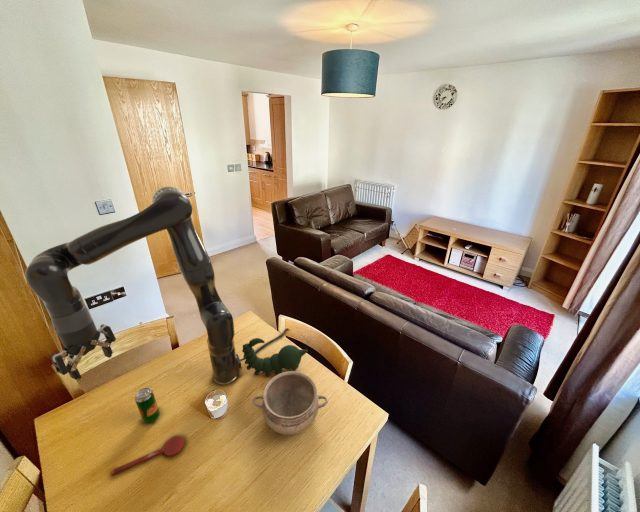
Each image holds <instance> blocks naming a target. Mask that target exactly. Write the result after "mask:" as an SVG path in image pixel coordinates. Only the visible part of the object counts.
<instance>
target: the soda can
mask: <svg viewBox="0 0 640 512" xmlns="http://www.w3.org/2000/svg"><path fill="white" fill-rule="evenodd" d="M134 401H135V405H136V407H137V409H138V412H139V415H140V418H141V419H142V422H143V423H144V424H152V423H154V422H155V421H157V420H158V418H159V417H160V415H161V411H160V408H159V405H158V403H157V399H156V396H155V394H154V391H153V389H151V388H150V387H143V388H141V389H139V390H138V391H137V392H136V393H135V395H134Z"/></svg>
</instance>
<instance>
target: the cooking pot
mask: <svg viewBox="0 0 640 512" xmlns="http://www.w3.org/2000/svg"><path fill="white" fill-rule="evenodd" d="M260 399H261V400H262V403H258V402H256V401H257V400H260ZM319 400H324V402H323V403H320V402H319ZM328 403H329V399H328V397H327V396H325V395H319V394H318V389H317V386H316V383H315V382H314V380H313V379H312V378H311V377H310V376H309V375H307V374H306V373H304V372H301V371H297V370H294V371H293V370H287V371H284V372H283V371H282V373H280V374H278V375H277V374H276V375H275V376H273V377H272V378H271V379H270V380H268V382H267V384H266V386H265V387H264V390H263V395H257V396H254V398H253V399H252V404H253V405H254V406H255V407H257V408H259V409H261V413H262V417H263V419H264V421H265V423H266V424H267V426H268V427H269V428H270V429H271V430H273V431H274V432H276V433H278V434H280V435H285V436H292V435H298V434H300V433H302V432H304V431H305V430H306V429H308V428H309V427H310V426H311V425H312V424H313V422H314V421H316V420H315V419H316V418H317V415H318V413H319V409H322V408H324V407H325V406H326V405H327V404H328Z"/></svg>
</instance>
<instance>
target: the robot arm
mask: <svg viewBox="0 0 640 512" xmlns="http://www.w3.org/2000/svg"><path fill="white" fill-rule="evenodd" d="M192 215H193V204H192V202H191V201H190V199H189V198H188V197H187V195H186V194H185V193H184V192H183V191H182V190H180V189H179V188H176V187H174V186H163V187H160V188H159V189H158V190H156V191H155V192H154V194H153V197H152V201H151V204H150V205H149V206H148V207H146V208H144V209H143V210H141V211H139V212H138V213H136V214H133V215H131V216H128V217H127V218H124V219H121V220H117V221H113V222H111V223H107V224H104V225H102V226H99V227H97V228H94V229H92V230H90V231H88V232H86V233H84V234H82V235H80V236H78V237H76V238H74V239H72V240H70V241H67V242H64V243H62V244H58V245H56V246H52V247H50V248H48V249H46V250H44V251H42V252H40V253H38V254H37V255H35V256H34V257H33V258H32V260H31V262H30V263H29V264H28V266H27V267H26V269H25V273H24V275H25V280H26V282H27V284H28V286H29V288H30V289H31V290H32V291H33V292H34V294H35V295H36V296H37V297H38V298H39V299H40V300H41V301H42V302H43V304H44V307H45V309H46V310H47V312H48V315H49V317H50V321H51V324H52V326H53V329H54V331H55V332H56V334H57V336H58V338H59V339H60V340H59V341H60V342H61V343H62V345H63V350H62V351H60V352H58V353H52V354H51V355H50V360H51V362H52V364H53V367H54V369H55V372H56V373H58V374H61V375H62V376H65V375H67V374H68V375H69V376H70V378H71V379H73V380H78V381H79V380H81V379H82V375H81V372H80V371H79V369H78V365H79V363H80V362H81V360H82V359H83V357H84V356H86V355H88V353H90V352H92V351H94V350H95V349H96V347H97V346H98V347H101V350H102V353H103V354H104V356H105V357H106V358H108V359H110V358H112V357H113V354H114V352H113V349H112V347H111V345H112V343H115V342H116V341H117V339H116V335H115V334H114V332H113V330H112V328H111V326H109V325H107V324H101V325H100V326H99V328H98V329H97V326H96V324H95V322H94V319H93V317H92V315H91V312H90V310H89V308H88V307H87V305H86V303H85V301H84V299H83V296H82V294H81V292H80V290H79V288H77V287H76V286H74V285H72V283H71V281H70V279H69V272H70V271H71V270H73V269H75V268H77V267H79V266H82V265H85V266H88V265H92V264H94V263H96V262H99V261H101V260H103V259H104V258H106V257H108V256H110V255H112V254H113V253H116V252H117V251H119V250H121V249H123V248H125V247H127V246H129V245H131V244H133V243H135V242H137V241H140V240H142V239H144V238H148V237H149V236H152V235H154V234H156V233H159V232H162V231H165V230H166V231H167V234H168V236H169V239H170V242H171V247H172V250H173V254H174V257H175V259H176V263H177V266H178V268H179V272H180V273H181V276H182V278H183V280H184V282H185V283H186V285H187V287H188V289H189V291H190V292H191V293H192V295H193V297H194V299H195V301H196V305H197V308H198V312H199V316H200V320H201V322H202V323H203V325H204V327H205V330H206V333H207V338H206V343H207V348H208V354H209V358H210V364H211V365H210V366H211V369H212V376H213V381H214V382H215V383H216V384H217V385H221V386H224V385H225V386H227V385H230V384H231V383H233V382H234V381H236V380H237V378H238V377H239V378H240V377H241V375H240V369H242V367H243V366H242V361H246V358H244V357H242V358H240V356H239V354H238V353H236V346H235V339H234V338H235V333H236V332H235V323H234V317H233V314H232V313H231V312H230V310H229V309H228V307H227V306H226V305H225V304H224V302H223V301H222V299H221V297H220V295H219V293H218V290H217V288H216V274H215V269H214V267H213V264H212V261H211V258H210V256H209V253H208V252H207V250H206V247H205V245H204V243H203V241H202V240H201V238H200V236H199V235H198V233H197V231H196V228H195V226H194V223H193V220H192ZM289 330H290V328H288V327H287V328H285V329H284V330H283V332H282V333H281V334H280V335H278V336H277V337H275V338H272V339H271V340H269V341H268V342H266V343H263V345H262V346H260V347H258V349H257V350H256V351H254V353H256V354H258V352H259V351H261V350H262V349H263V348H265V347H266V346H268V345H269V344H271V343H272V342H274V341H277V340H278V339H280V338H281V337H283V336H284V335H285V333H286V331H289ZM101 334H103V335H104V337H105V340H100V337H101ZM66 356H67V357H66ZM65 361H66V363H65Z"/></svg>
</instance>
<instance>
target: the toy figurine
mask: <svg viewBox="0 0 640 512" xmlns="http://www.w3.org/2000/svg"><path fill="white" fill-rule="evenodd" d="M259 344H266V343H265V340H264V339H262V338H260V337H256V338H252V339H250V340H249V342H248V343H244V344H242V351H241V352H242V353H243V356H242V358H246V359H245V360H244V364H245V365H246V366H245V367H246V370H248V371H249V370H251V369H254V375H255V376H256V377H257V376H260V374H261V372H262V373H263V374H265V377H266V378H269V377H270V376H271V375H272V373H273V372H275V374H276V375H278V374H280V373H283V370H285V371H286V370H287V371H297V369H298V368H299V365H300V364H301V361H302V357H303V356H305V355H306V354H307V353H308V352H309V350H308V349H300V348H299V347H298V346H295V345H292V344H287V345H285V346H282V347H281V348H280V350H278V353H274V354H272V355H271V356H270V357H269V356H267V357H263V358H262V357H259V356H258V355H257V353H255V349H254V348H253V347H255V346H256V345H259Z"/></svg>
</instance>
